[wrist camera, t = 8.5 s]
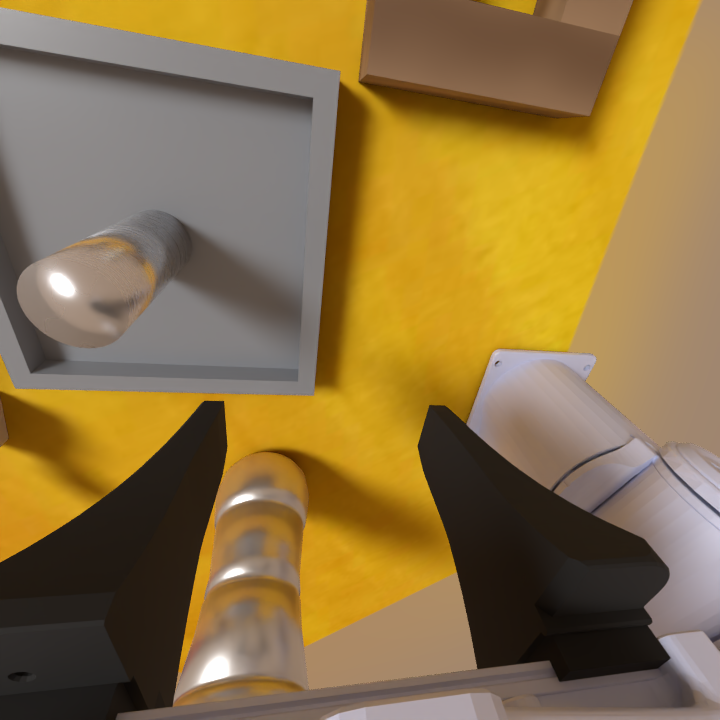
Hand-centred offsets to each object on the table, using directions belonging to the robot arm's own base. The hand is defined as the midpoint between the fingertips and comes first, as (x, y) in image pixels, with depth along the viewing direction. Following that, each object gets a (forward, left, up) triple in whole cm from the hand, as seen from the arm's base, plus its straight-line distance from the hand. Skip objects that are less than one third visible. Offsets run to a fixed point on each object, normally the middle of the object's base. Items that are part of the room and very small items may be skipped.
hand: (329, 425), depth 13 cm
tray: (+3, +8, -10) cm, 13 cm away
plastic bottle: (-14, +3, -11) cm, 18 cm away
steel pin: (+3, +8, -10) cm, 13 cm away
